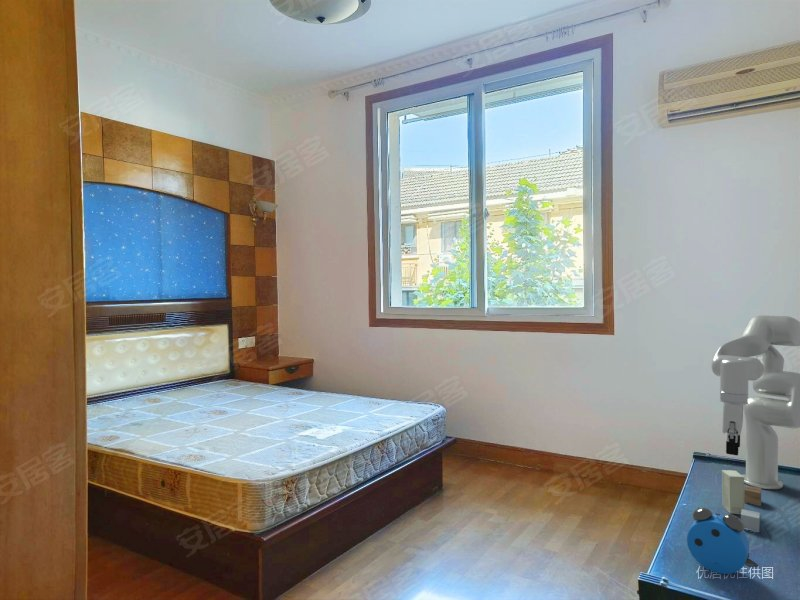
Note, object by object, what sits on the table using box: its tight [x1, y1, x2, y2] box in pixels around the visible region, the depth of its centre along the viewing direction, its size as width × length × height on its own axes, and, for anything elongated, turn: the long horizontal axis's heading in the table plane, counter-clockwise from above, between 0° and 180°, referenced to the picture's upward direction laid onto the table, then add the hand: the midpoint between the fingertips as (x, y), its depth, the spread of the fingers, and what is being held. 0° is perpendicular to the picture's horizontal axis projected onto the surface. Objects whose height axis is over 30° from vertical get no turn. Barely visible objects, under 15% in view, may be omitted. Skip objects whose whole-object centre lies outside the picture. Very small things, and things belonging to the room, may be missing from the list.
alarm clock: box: [686, 507, 750, 575], centre depth 131 cm, size 13×6×15 cm, turn 49°
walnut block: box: [744, 484, 762, 507], centre depth 170 cm, size 4×4×4 cm
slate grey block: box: [740, 508, 761, 533], centre depth 152 cm, size 4×4×4 cm
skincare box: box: [721, 469, 745, 515], centre depth 164 cm, size 6×4×12 cm
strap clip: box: [744, 553, 759, 568], centre depth 136 cm, size 8×3×4 cm, turn 179°
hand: (733, 450), depth 163 cm, fingers open, 9 cm apart
